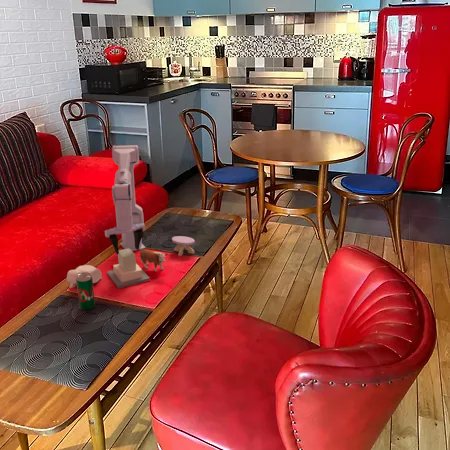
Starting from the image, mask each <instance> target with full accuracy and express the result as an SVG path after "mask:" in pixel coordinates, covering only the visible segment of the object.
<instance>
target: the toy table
mask: <svg viewBox="0 0 450 450" xmlns="http://www.w3.org/2000/svg"><path fill="white" fill-rule="evenodd" d="M171 241H172V242H173V243H174V244H177V245H176V246H175V247H174V248H173V251H174V252H178V253H177V254H178V256H179V257H181V256H183V255H184V250H185V251H187V253H188V254H193V255H194V254H195V250H194V249H193V248H192V247H191V246H192V245H195V243H196V241H195V239H194V238H192V237H189V236H184V235H183V236H182V235H179V236H178V235H177V236H176V235H175V236H172V238H171Z"/></svg>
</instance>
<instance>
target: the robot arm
mask: <svg viewBox="0 0 450 450" xmlns="http://www.w3.org/2000/svg"><path fill="white" fill-rule="evenodd" d="M139 149H140V148H139V146H138V144H135V145H134V144H131V145H116V144H114V145H113V146H112V148H111V155H112V156H111V157H112V161H113V162H114V164H115V165H118V169H117V170H116V172H115V175H114V176H115V177H114V185H112V187H111V194H112V195H111V196H112V199H113V200H112V201H113V205H114V206H115V207H114V208H115V209H114V210H115V219H116V226H114V227H113V228H109V229H106V230H104V236H105V238H108V239H109V240H110V242H111V245H112V246H113V248H114V249H113V250H114V253H115V254H116V255H118V254H119V250H120V249H119V244H120V246H121V247H122V248H123V249H128V248H129V249H130V250H131V251H132V252H135V251H140V250H141V249H145V250H146V246H145V245H144V244H143V242H142V241H143V240H142V239H143V236H144V234H145V233H144V232H145V230H146V224H145V222H144V221H145V219H144V212H143V208H142V207H141V206H140V205H138V204H137V203H136V191H135V190H136V188H135V187H136V186H135V175H134V169H135V166H136V165H138V164H139V163H140V150H139ZM117 235H121V240H122V241H121V243H119V238H118V236H117Z"/></svg>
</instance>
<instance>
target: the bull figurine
mask: <svg viewBox="0 0 450 450" xmlns="http://www.w3.org/2000/svg"><path fill="white" fill-rule="evenodd" d="M167 255H168V253H163V252H161V251H159V252H158V251H151V250H148V249H146V248H145V249H140V250H139V256H140V262H141V264H142V265H144V268H145V270H148V269H149V267H148V265H149V264H152V263H153V264H154V270H153V271H154V272H158V269H157V267H158V266H159V267H160V271H163V270H165V269H164V267H163V263H166V259H165V257H166V256H167Z"/></svg>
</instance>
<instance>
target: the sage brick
mask: <svg viewBox="0 0 450 450" xmlns="http://www.w3.org/2000/svg"><path fill="white" fill-rule="evenodd" d="M118 250H119V254H117V259H118V264H119V266H120V267H121V269H122V270H123V271H124V272H128V271H132V270H136V264H137V260H136V254H135V253H134V251H131V250H130V249H129V248H128V249H124V248H123V249H118Z"/></svg>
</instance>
